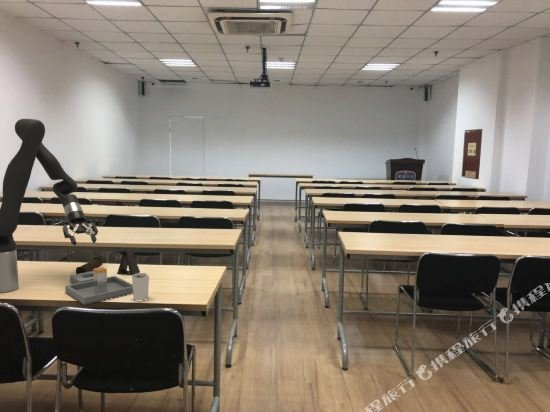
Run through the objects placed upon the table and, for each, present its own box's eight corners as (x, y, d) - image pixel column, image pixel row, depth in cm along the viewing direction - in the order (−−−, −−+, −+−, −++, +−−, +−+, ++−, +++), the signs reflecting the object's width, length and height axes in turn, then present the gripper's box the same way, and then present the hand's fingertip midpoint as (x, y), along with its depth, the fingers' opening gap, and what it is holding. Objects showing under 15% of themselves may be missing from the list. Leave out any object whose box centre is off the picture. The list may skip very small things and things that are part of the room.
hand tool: (84, 276, 208) (84, 265, 207) (75, 276, 208) (75, 264, 208) (108, 264, 230) (108, 254, 229) (99, 263, 231) (99, 253, 230)
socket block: (80, 287, 191) (80, 281, 190) (70, 281, 199) (69, 275, 199) (107, 282, 199) (106, 276, 199) (96, 276, 207) (95, 270, 207)
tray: (84, 305, 170) (83, 298, 170) (65, 292, 184) (65, 285, 184) (136, 292, 186) (136, 286, 185) (115, 282, 200) (115, 275, 199)
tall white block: (98, 293, 182) (97, 270, 181) (94, 291, 185) (93, 268, 184) (107, 291, 185) (106, 268, 184) (103, 289, 188) (102, 266, 187)
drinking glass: (129, 300, 176) (128, 277, 175) (137, 295, 183) (136, 272, 181) (144, 302, 175) (144, 278, 174) (152, 296, 182) (151, 273, 180)
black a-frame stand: (139, 272, 216) (139, 248, 214) (133, 275, 210) (133, 251, 208) (123, 270, 218) (122, 247, 216) (116, 274, 212) (116, 250, 210)
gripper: (60, 210, 192) (70, 240, 186) (92, 208, 202) (103, 236, 196) (56, 220, 197) (66, 250, 190) (88, 218, 207) (98, 246, 200)
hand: (85, 243), depth 193 cm, fingers open, 8 cm apart
